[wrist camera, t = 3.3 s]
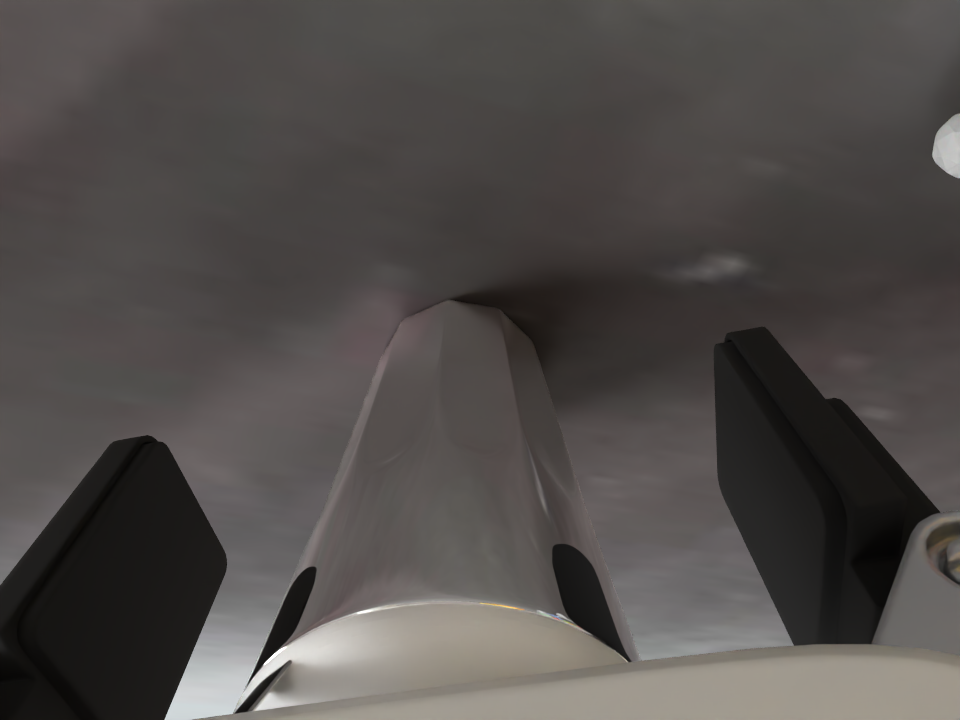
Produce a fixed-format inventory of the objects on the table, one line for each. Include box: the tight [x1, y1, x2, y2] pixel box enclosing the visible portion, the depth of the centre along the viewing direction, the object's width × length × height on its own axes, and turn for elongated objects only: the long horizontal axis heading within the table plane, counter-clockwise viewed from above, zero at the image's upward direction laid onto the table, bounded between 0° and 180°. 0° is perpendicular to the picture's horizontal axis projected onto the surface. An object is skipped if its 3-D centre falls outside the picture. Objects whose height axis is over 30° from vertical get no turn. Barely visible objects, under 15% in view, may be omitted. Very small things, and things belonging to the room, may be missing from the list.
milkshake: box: [233, 300, 642, 714], centre depth 9 cm, size 5×5×10 cm
